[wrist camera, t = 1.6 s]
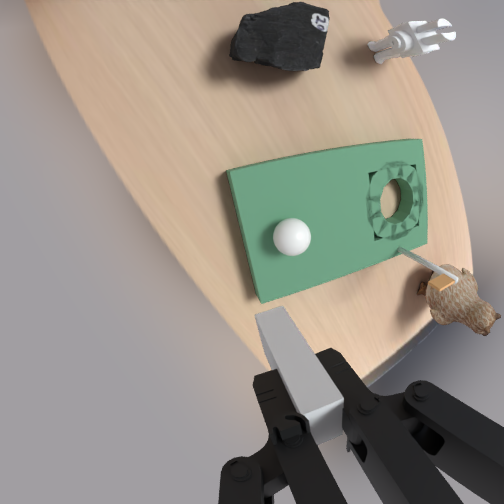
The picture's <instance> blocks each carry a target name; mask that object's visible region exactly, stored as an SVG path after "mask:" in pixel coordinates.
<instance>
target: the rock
mask: <svg viewBox="0 0 504 504" xmlns="http://www.w3.org/2000/svg"><path fill="white" fill-rule="evenodd" d="M328 24H329V11H328V10H327V9H324V8H320V7H316V6H312V5H310V4H306V3H304V2H293V3H291V4H289V5H285V6H280V7H273V8H271V9H269V10H267V11H263V12H260V13H255V14H246V15H244V16H243V17H242V19H241V22H240V24H239V28H238V30H237V32H236V34H235V36H234V38H233V39H232V42H231V47H230V54H229V56H230V57H232V60H237V61H245V62H253V61H254V63H256V64H261V65H265V66H272V67H277V68H279V69H283V70H286V71H307V70H309V69H314V68H320V64H321V60H322V56H323V49H324V43H325V39H326V34H327V29H328Z"/></svg>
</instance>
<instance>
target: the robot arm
mask: <svg viewBox="0 0 504 504" xmlns="http://www.w3.org/2000/svg"><path fill="white" fill-rule="evenodd" d="M255 319H256V322H257V326H258V330H259V334H260V337H261V341H262V345H263V349H264V352H265V355H266V357H267V360H268V362H269V364H270V367H271V369H272V370H271V371H268V372H265V373H262V374H259V375H256V376H254V382H253V388H254V391H255V394H256V396H257V400H258V403H259V405H260V408H261V411H262V414H263V417H264V419H265V422H266V425H267V428H268V432H269V438H268V441H267V443H266V444H265V446H264V447H263V448H262V449H261V450H260V451H258V452H256V453H255V454H253V455H251V456H250V457H242V456H241V457H236V458H233V459H231V460H229V461H228V462H227V463H226V464H225V465H224V466H223V468H222V471H221V479H220V490H219V503H218V504H274V494H275V493H277V492H278V491H280V490H282V489H283V488H285V487H286V486H288V485H289V487H290V489H291V492H292V494H293V496H294V499H295V501H296V504H347V502H346V500H345V498H344V496H343V494H342V492H341V491H340V489H339V487H338V485H337V483H336V481H335V479H334V477H333V475H332V473H331V471H330V470H329V468H328V466H327V464H326V462H325V460H324V458H323V456H322V454H321V452H320V450H319V448H318V446H317V445H319V444H321V443H324V442H326V441H329V440H331V439H333V438H336V437H338V436H340V435H342V432H343V430H344V432H345V434H346V435H347V452H350V449H351V450H352V452H353V454H354V455H355V457H356V459H357V460H358V462H359V464H360V465H361V467H362V469H363V470H364V472H365V474H366V476H367V477H368V479H369V480H370V482H371V484H372V486H373V487H374V489H375V491H376V492H377V494H378V496H379V497H380V499H381V500H382V502H383V504H463V502H462V501H461V500H460V498H459V497H458V495H457V494H456V493H455V491H454V490H453V489H452V488H451V486H450V485H449V484H448V482H447V481H446V480H445V478H444V477H443V476H442V474H441V473H440V472H439V470H438V469H437V468H436V467H438V468H439V469H440V470H442V471H443V472H445V473H446V474H447V475H449V476H450V477H452V478H453V479H454V480H456V481H457V482H459V483H460V484H462V485H463V486H465V487H466V488H467V489H469V490H471V491H472V492H473V493H475V494H476V495H478V496H480V497H481V498H482V499H484V500H486V501H487V502H489V503H490V504H504V427H502V426H501V425H499V424H497V423H496V422H494V421H492V420H491V419H489V418H487V417H486V416H484V415H482V414H481V413H479V412H478V411H476V410H474V409H473V408H471V407H469V406H468V405H466V404H464V403H463V402H461V401H460V400H458V399H456V398H455V397H453V396H451V395H450V394H448V393H447V392H445V391H443V390H442V389H440V388H439V387H437V386H435V385H434V384H432V383H430V382H428V381H421V380H420V381H416V382H413V383H411V384H410V385H409V386H408V387H407V389H406V390H405V392H403V393H399V394H394V395H390V396H379V395H377V394H374V393H372V392H371V391H370V390H369V389H368V388H367V387H366V386H365V384H364V383H363V382H362V380H361V379H360V378H359V377H358V375H357V374H356V373H355V371H354V370H353V369H352V368H351V366H350V365H349V364H348V362H346V360H345V358H344V357H343V356H342V354H341V353H340V352H338V351H336V350H334V349H332V348H329V349H326V350H324V351H321V352H319V353H316V354H314V352H313V351H312V349H311V347H310V346H309V344H308V343H307V341H306V340H305V338H304V337H303V335H302V334H301V332H300V331H299V329H298V328H297V326H296V325H295V323H294V322H293V320H292V319H291V317H290V316H289V314H288V312H287V311H286V309H285V308H284V306H280V307H277V308H274V309H271V310H268V311H265V312H262V313H258V314H255Z"/></svg>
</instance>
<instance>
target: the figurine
mask: <svg viewBox="0 0 504 504" xmlns="http://www.w3.org/2000/svg"><path fill="white" fill-rule="evenodd" d="M439 267H440V268H442V269H444V270H446V271H448V272H449V273H451V274H453V275H455V276H457V277H458V278H459V279H458V282H457V283H456V284H455V283H453V284H452V285H450V286H448V287H447V288H445V289H443V290H442V291H440V292H439V291H438V290H436V289H435V288H433V287H432V286H430V285H428V283H425V284H424V283H423V282H422V283H421V284H420V289H419V291H418V293H417V295H420V294H422V295H426V301H427V303H428V305H429V307H430V308H431V310H430V312H431V315H432V317H433V318H434V319H435V321H436V322H438V323H439V324H441V325H447V324H450V323H452V322H454V321H455V322H460V323H463V324H465V325H466V326H468V327H469V328H471V329H472V330H473V331H474V332H475V333H478V334H482V335H483V336H486V335H488V334H489V333H490V328H491V327H492V326H493V324H494V322H495V320H497V319H499V318H501V315H500V314H498V313H496V312H495V311H494V309H493V308H492V306H491V305H490V304H489V303H487V302H485V301H483V300H481V299H480V298H479V296H478V295H477V290H478V286H477V283H476V280H475V278H474V277H473V275H472V274H471V273H470V272H469V271H468V270H466V269H464V268H462V272H460V271H459V270H458V269H457V268H455V267H454V266H452V265H450V264H444V265H441V266H439ZM438 276H440V274H438V273H436V272H434V271H433V274H432V276H431V278H430V280H432V279H434V278H436V277H438Z"/></svg>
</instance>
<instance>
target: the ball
mask: <svg viewBox="0 0 504 504" xmlns="http://www.w3.org/2000/svg"><path fill="white" fill-rule="evenodd" d="M273 241H274V244H275V246H276V248H277V249H278V250H279V251H280V252H281V253H283V254H285V255H288V256H296V255H299V254H301V253H303V252H304V251H305V250H306V249H307V248H308V246H309V244H310V241H311V234H310V230H309V228H308V226H307V225H306V224H305V223H304V222H303V221H301V220H299V219H296V218H288V219H285V220H283V221H281V222H280V223H279V224H278V225H277V226H276V228H275V230H274V233H273Z"/></svg>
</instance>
